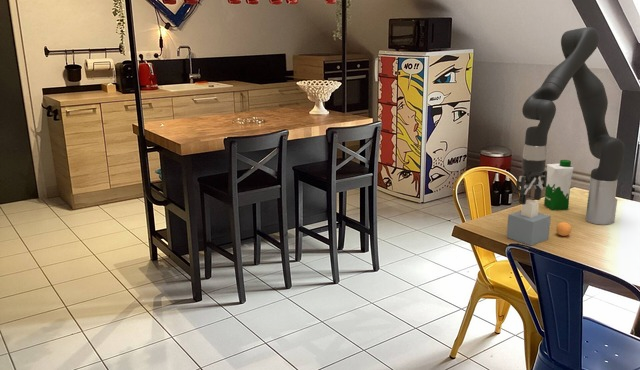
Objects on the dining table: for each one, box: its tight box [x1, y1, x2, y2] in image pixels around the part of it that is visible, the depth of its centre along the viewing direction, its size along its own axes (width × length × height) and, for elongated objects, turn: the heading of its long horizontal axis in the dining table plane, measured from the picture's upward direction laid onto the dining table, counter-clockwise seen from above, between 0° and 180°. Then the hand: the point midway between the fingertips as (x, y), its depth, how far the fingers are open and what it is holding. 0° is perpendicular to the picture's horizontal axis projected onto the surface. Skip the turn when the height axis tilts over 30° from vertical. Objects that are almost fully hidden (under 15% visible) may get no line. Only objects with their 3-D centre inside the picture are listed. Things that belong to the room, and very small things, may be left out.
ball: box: [555, 221, 572, 237], centre depth 201 cm, size 5×5×5 cm
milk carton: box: [543, 159, 575, 211], centre depth 229 cm, size 9×9×20 cm
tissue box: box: [506, 199, 552, 246], centre depth 198 cm, size 10×10×14 cm
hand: (529, 201), depth 196 cm, fingers open, 8 cm apart
